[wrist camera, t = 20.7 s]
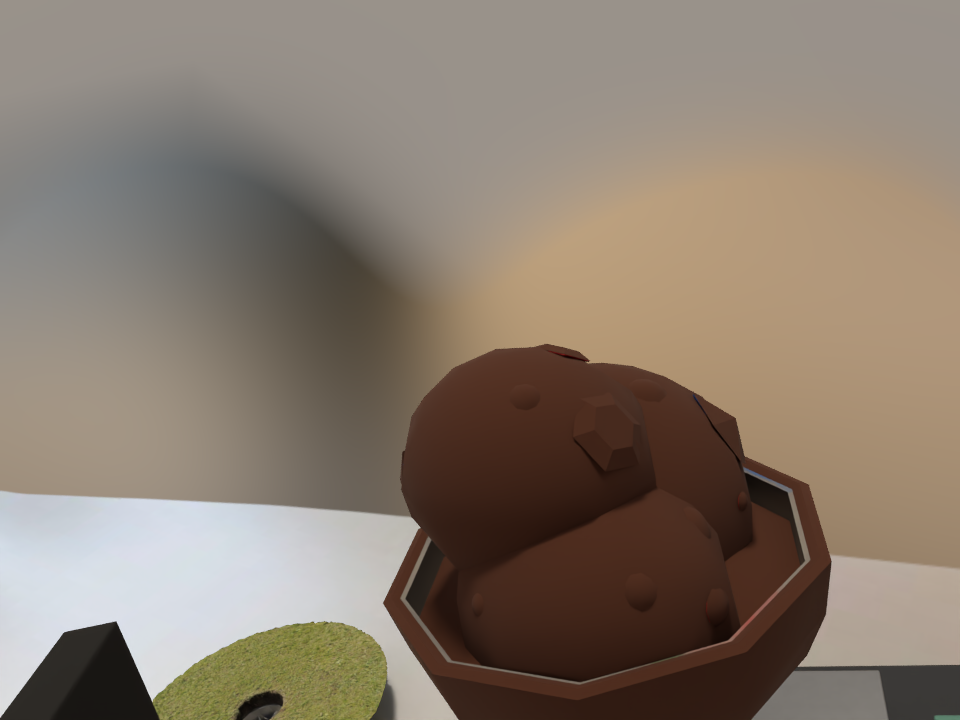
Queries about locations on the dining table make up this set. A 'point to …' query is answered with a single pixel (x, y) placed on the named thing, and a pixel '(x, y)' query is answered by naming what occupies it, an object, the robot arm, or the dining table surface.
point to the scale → (915, 690)
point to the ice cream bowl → (599, 547)
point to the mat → (283, 678)
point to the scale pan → (827, 697)
